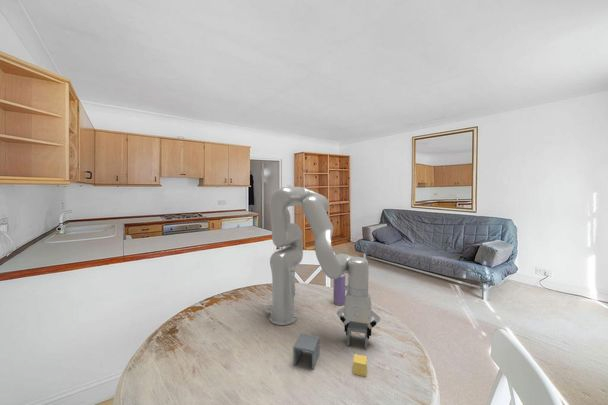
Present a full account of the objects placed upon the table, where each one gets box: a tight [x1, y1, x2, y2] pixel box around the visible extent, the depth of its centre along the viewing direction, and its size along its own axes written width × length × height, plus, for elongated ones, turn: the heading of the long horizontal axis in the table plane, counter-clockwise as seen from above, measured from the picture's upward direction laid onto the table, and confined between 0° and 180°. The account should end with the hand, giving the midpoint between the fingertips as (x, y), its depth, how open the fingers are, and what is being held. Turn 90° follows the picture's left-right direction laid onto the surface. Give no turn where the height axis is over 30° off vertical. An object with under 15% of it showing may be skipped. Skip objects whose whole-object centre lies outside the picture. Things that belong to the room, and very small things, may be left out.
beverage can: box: [332, 273, 346, 306], centre depth 127 cm, size 6×6×15 cm
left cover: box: [292, 332, 320, 371], centre depth 86 cm, size 7×8×6 cm
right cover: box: [346, 321, 368, 350], centre depth 95 cm, size 7×8×6 cm
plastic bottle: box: [291, 266, 296, 295], centre depth 137 cm, size 6×7×20 cm
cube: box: [352, 353, 368, 377], centre depth 80 cm, size 4×4×4 cm
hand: (357, 335), depth 95 cm, fingers open, 7 cm apart
